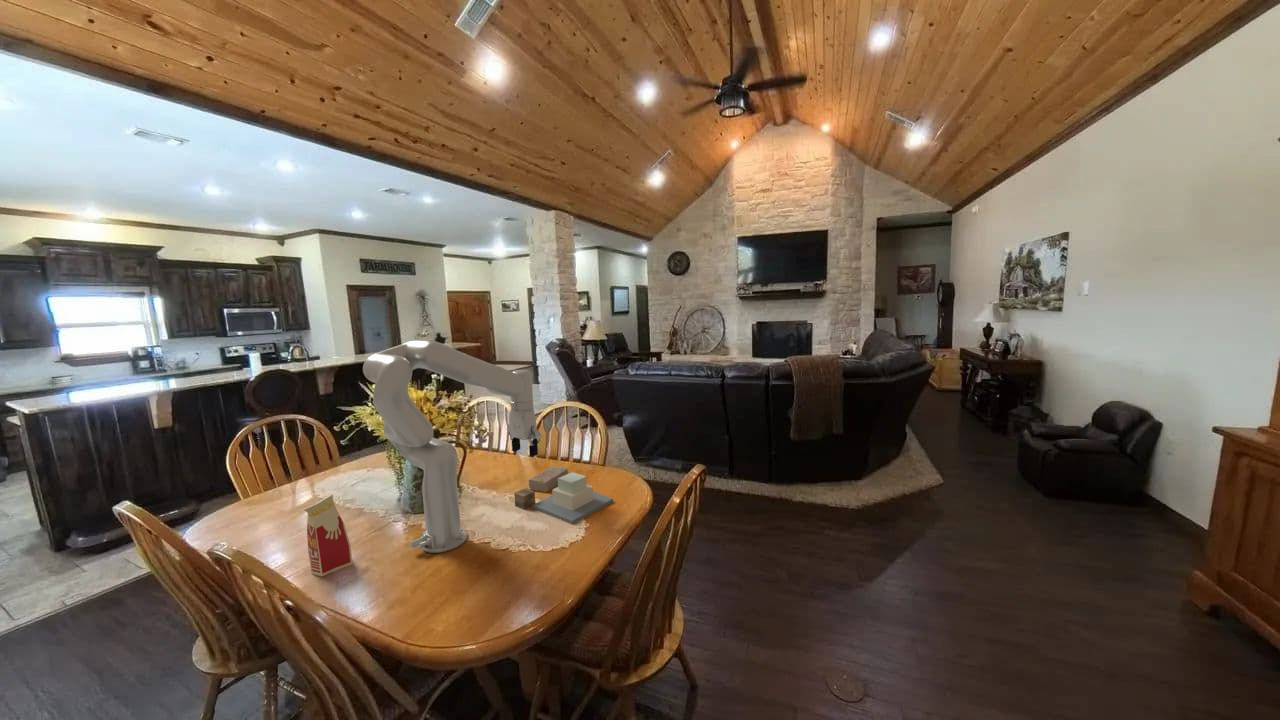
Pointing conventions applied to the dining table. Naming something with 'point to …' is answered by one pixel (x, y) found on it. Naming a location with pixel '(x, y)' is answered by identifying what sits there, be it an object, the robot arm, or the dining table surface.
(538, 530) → the dining table surface
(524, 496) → the walnut cube
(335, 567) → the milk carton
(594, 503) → the foundation
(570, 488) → the green block
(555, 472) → the brick
